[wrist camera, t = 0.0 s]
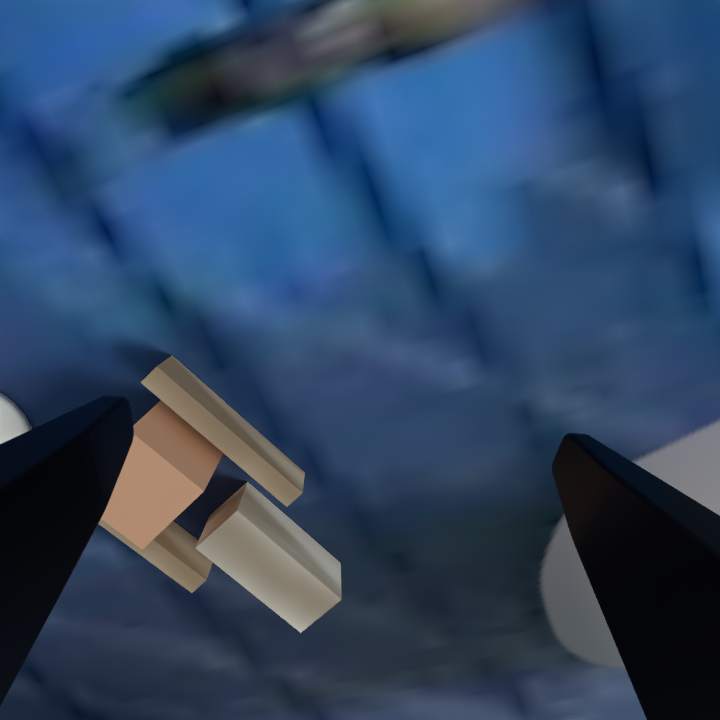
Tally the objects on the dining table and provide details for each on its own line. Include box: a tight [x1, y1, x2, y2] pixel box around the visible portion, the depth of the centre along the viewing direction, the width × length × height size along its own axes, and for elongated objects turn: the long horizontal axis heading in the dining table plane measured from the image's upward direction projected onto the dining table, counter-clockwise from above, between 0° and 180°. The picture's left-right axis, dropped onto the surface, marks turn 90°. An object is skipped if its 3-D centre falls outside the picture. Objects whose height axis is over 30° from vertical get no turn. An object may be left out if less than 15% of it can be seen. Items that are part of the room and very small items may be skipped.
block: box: [101, 400, 223, 550], centre depth 24 cm, size 4×4×4 cm
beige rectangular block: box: [195, 482, 342, 633], centre depth 26 cm, size 3×8×3 cm, turn 43°
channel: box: [98, 356, 305, 593], centre depth 25 cm, size 9×10×2 cm
